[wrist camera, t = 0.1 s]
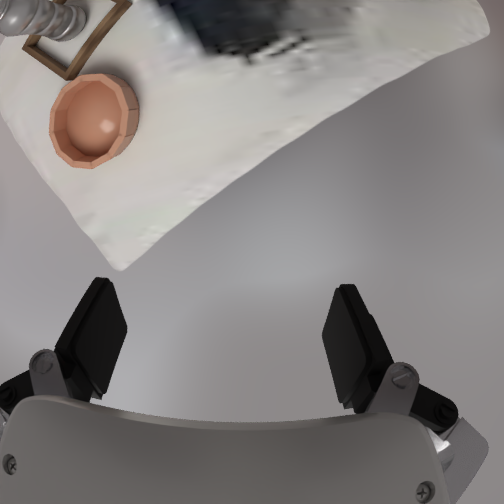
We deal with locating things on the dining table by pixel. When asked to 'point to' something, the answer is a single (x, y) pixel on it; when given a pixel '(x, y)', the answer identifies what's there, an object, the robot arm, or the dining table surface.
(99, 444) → the robot arm
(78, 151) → the terracotta bowl
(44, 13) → the grey metal bulbous cylinder
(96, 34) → the brown picture frame
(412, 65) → the dining table surface
